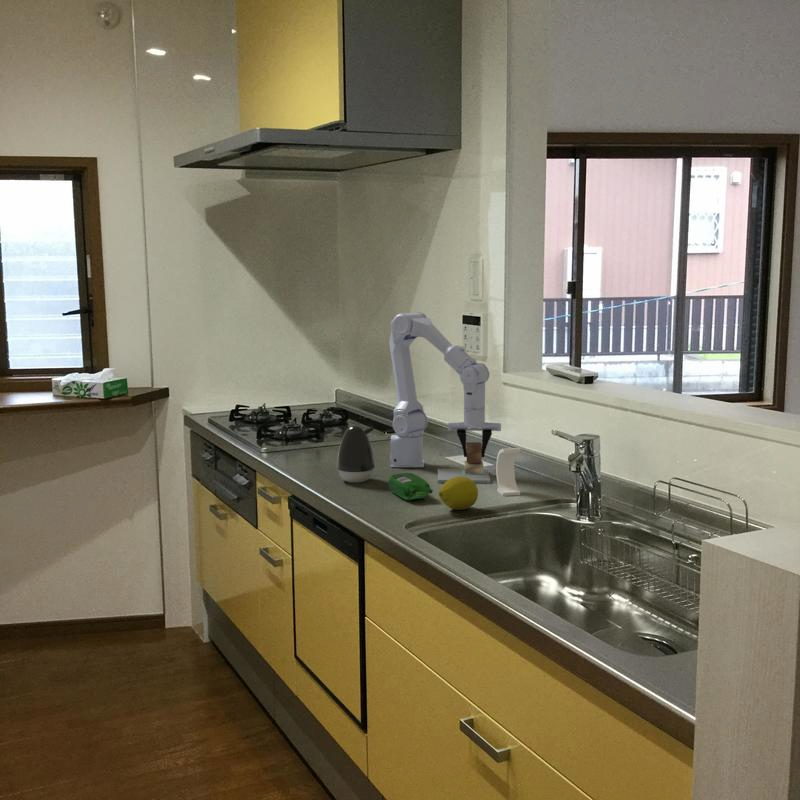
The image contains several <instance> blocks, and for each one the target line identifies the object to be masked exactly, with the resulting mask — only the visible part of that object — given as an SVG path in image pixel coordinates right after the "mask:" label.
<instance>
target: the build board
mask: <svg viewBox="0 0 800 800" xmlns="http://www.w3.org/2000/svg"><path fill="white" fill-rule="evenodd" d="M455 477H467V478H470V479H471V480H472V481H473V482H474V483H475V484H491V477H490V473H489V469H488V468H483V474H465V468H437V484H444V483H445V482H447V481H448V480H450V479H452V478H455Z"/></svg>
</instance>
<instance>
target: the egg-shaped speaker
mask: <svg viewBox="0 0 800 800" xmlns="http://www.w3.org/2000/svg"><path fill="white" fill-rule="evenodd" d="M371 432H374V427H373V426H370V427H368V428H366V429H364V428H363V427H362V426H360V425H355V424H354V425H351V426H349V427H348V428H347V429H346V430H345V431H344V434H343V436H342V439H341V441H340V445H339V448H338V453H337V458H336V459H337V460H336V469H337V470H338V473H339V476H340V478H341V479H342V480H343V481H345V482H347V483H350V484H360V483H364V482H366V481H368V480H369V479H370V478H371V477H372V476H373V472H374V469H375V457H374V450H373V446H372V443H371V441H370V438H369V435H368V434H370V433H371Z"/></svg>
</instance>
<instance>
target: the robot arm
mask: <svg viewBox="0 0 800 800" xmlns="http://www.w3.org/2000/svg"><path fill="white" fill-rule="evenodd" d="M389 325H390V330H391V332H390V337H389V342H388V344H389V350H390V358H391V363H392V364H391V365H392V369H393V370H392V371H393V376H394V377H393V378H394V383H395V390H396V397H397V404H396V406H395V408H394V409H393V420H392V429H393V430H394V432H395V434H392V435H391V436H390V453H389V454H390V455H389V461H390V467H391V468H424V467H425V460H424V459H423V458H424V457H423V456H424V454H423V453H424V452H423V449H424V448H423V446H424V444H423V443H424V442H423V440H424V432H425V430H426V428H427V427H428V423H429V419H428V416H427V415H426V413H425V410H424V407H423V406H424V405H422V403H421V402H419V400H418V398H417V392H416V385H415V379H414V378H415V377H414V371H413V363H412V357H411V352H410V346H411V345H412V344H413V342H414V341H415V339H418V338H424V339H425V340H426V341H428V342H429V343H430V344H431V345H433V347H435V348H436V349H437V350H438V351H439V352H441V353H442V354H443V359H444V362H446V364H447V365H448V366H450V367H451V369H452V370H454V371H455V372H456V373H457V374H458V375H459V379H460V382H461V383H462V385H463V421H462V422H448V423H447V431H448V432H452V431H456V433H457V437H458V438H459V442H460V444H461V447H462V452H463V457H464V458H467V443H466V442H467V431H475V432H476V431H477V432H479V431H481V434H482V435H481V444H482V458H485V453H486V450H487V446H488V444H489V441H490V439H491V437H492V434H493V432H495V431H496V432H501V431H502V425H501V422H486V417H485V416H486V383H487V382H488V380H489V378H490V371H489V368H488V367H487V366H486V364H485V363H483V362H478V361H477V359H476V358H473V357H472V356H471V355H469V354H468V353H467V351H466V349H465V347H464V346H460V345H459V344H458V345H456V344H455V345H453V344H452V343H451V342H450V341H449V340H448V339H447V338H446V337H445V336H444V335H443V334H442V333H441V331H440V330H439V329H438V328H437V327H436V326H435V325H434V324H433V321H432V319H431V318H429V317H427V315H426V314H425V313H424V312H421V311H416V312H410V313H398V314H396V315H395V316H394V318H393V319H392V320H391V322H390V323H389Z"/></svg>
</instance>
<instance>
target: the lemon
mask: <svg viewBox="0 0 800 800" xmlns="http://www.w3.org/2000/svg"><path fill="white" fill-rule="evenodd" d="M438 496H439V498H440V500H441V501H442V503H443V504H444V505H445V506H446V507H448V508H449V509H452V510H455V511H463V510H466V509H468V508H471V507H472V506H474V505H475V503H476V502H477V500H478V498H479V490H478V486H477V483H474V482H473V481H472V480H471V479H470V478H467V477H455V478H452V479H450V480H448V481H447V482H445V483H443V485H442V486H441V488H440V489H439V491H438Z"/></svg>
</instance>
